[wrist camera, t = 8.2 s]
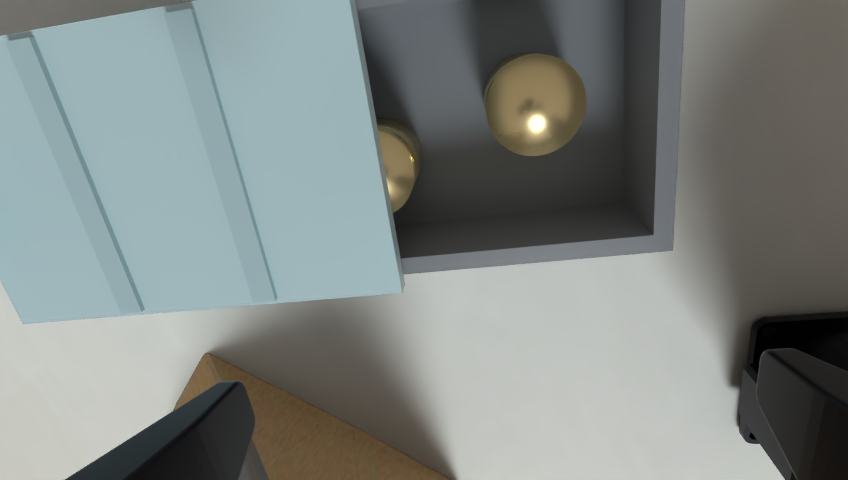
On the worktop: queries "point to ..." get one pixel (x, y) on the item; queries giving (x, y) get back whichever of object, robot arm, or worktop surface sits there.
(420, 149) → the brass slug
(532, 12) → the tub
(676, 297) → the worktop surface
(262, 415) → the sandwich container
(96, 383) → the worktop surface
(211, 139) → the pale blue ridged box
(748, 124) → the worktop surface
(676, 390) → the worktop surface
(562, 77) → the brass slug
